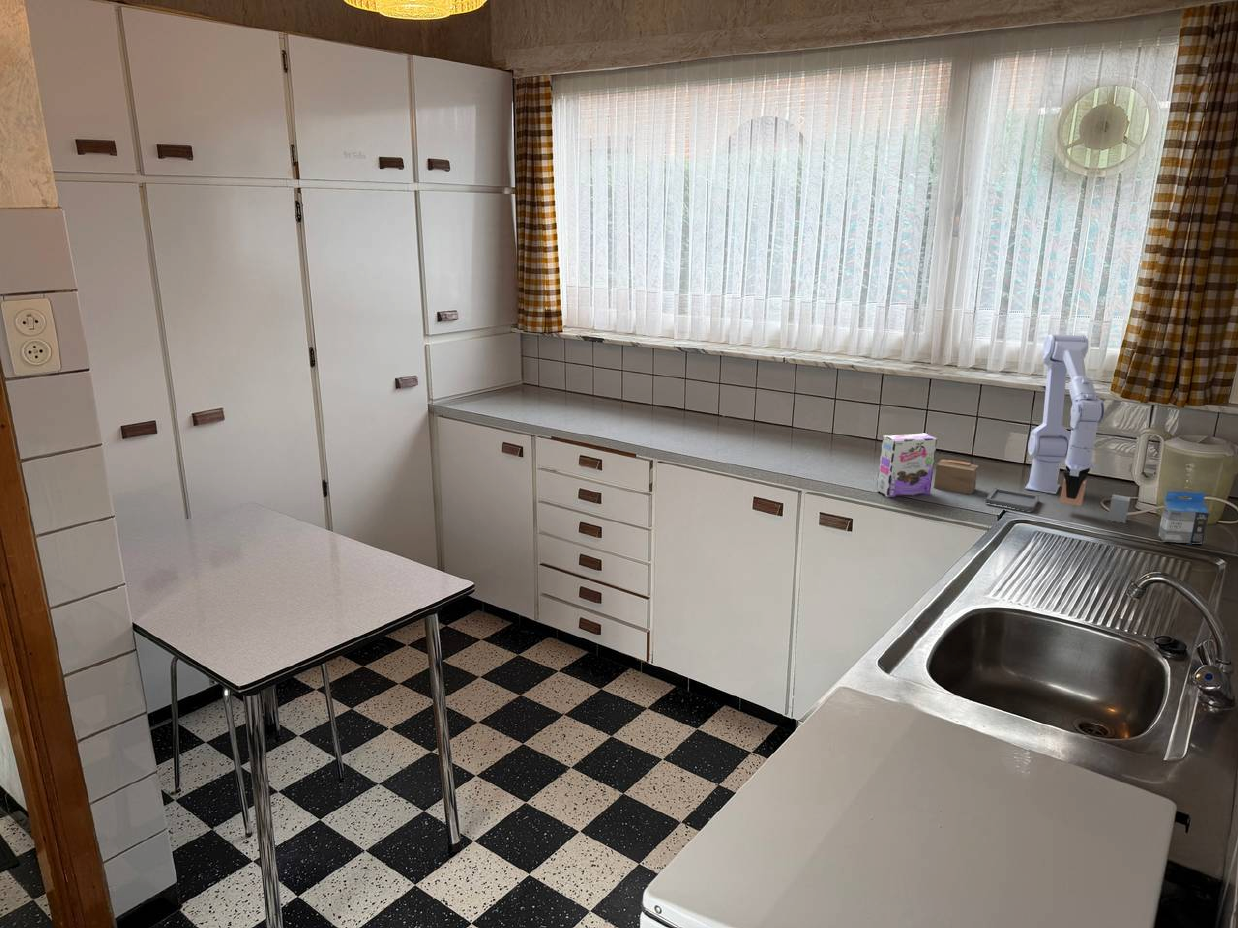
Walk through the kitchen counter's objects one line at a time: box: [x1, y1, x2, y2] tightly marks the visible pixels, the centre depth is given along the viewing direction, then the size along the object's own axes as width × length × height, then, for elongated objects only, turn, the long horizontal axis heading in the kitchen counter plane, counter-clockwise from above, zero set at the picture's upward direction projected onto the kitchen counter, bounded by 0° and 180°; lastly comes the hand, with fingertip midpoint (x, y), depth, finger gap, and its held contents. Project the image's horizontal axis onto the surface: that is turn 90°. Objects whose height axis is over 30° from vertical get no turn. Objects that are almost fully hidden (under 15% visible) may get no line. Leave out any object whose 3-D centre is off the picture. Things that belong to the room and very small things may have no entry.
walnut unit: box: [933, 459, 979, 495], centre depth 248 cm, size 7×10×7 cm, turn 58°
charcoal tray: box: [985, 487, 1040, 513], centre depth 237 cm, size 12×12×2 cm
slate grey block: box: [1107, 494, 1131, 524], centre depth 225 cm, size 4×4×6 cm
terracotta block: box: [1059, 477, 1087, 507], centre depth 229 cm, size 4×5×6 cm
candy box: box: [875, 432, 938, 498], centre depth 241 cm, size 14×6×16 cm, turn 105°
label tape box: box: [1157, 490, 1210, 543], centre depth 210 cm, size 9×4×12 cm, turn 82°
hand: (1072, 495), depth 229 cm, fingers closed on terracotta block, 4 cm apart
